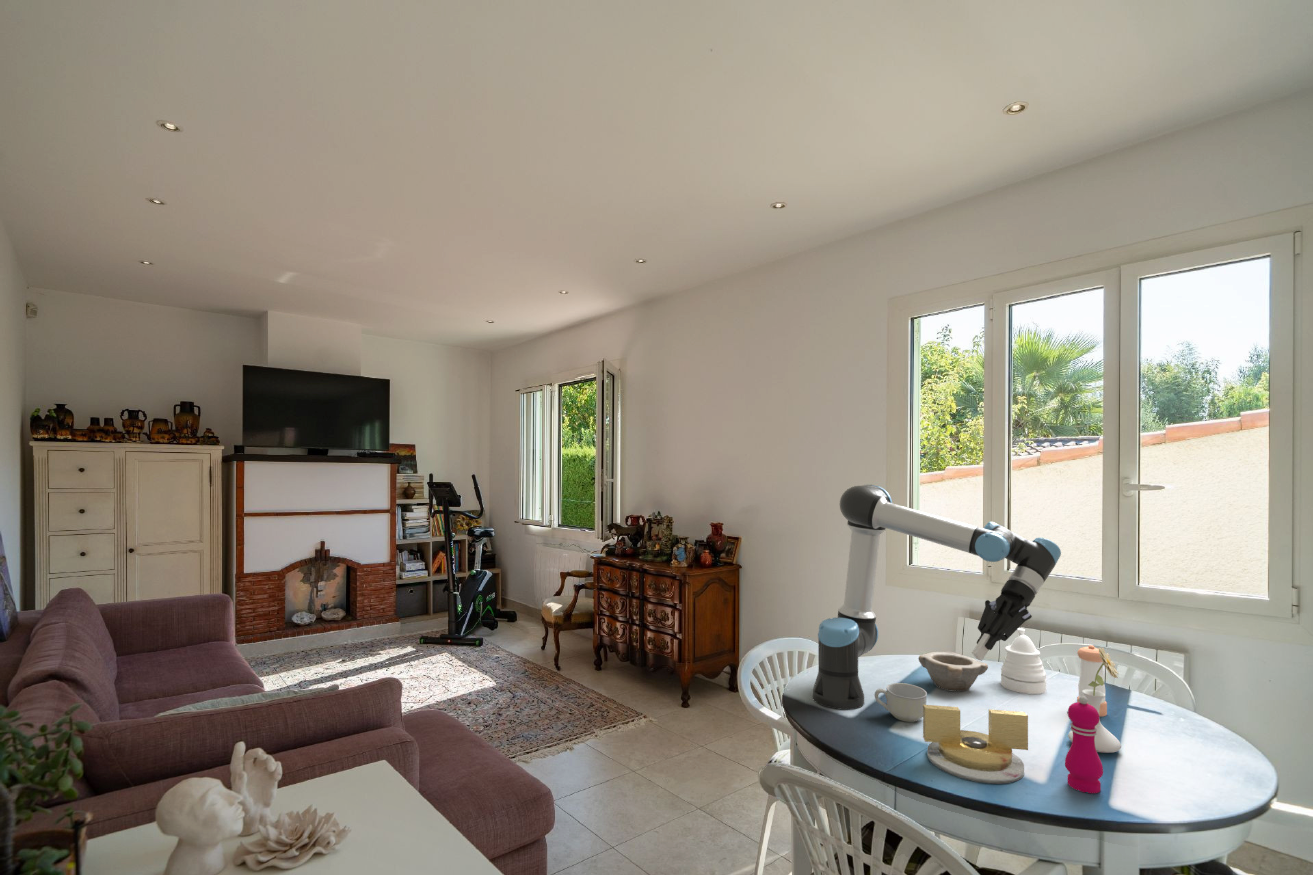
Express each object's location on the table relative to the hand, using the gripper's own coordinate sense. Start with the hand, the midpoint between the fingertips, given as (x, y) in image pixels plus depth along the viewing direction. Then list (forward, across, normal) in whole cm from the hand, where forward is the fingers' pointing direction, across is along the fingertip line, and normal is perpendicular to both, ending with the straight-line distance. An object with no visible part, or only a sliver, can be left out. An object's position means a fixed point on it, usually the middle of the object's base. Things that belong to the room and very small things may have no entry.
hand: (976, 656), depth 174 cm
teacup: (+20, +21, -12) cm, 31 cm away
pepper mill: (+14, -26, -18) cm, 34 cm away
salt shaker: (-19, +3, -51) cm, 54 cm away
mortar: (-4, +34, -36) cm, 50 cm away
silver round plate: (+23, -8, -8) cm, 25 cm away
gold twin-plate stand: (+21, -8, -7) cm, 24 cm away
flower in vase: (-3, -13, -34) cm, 37 cm away
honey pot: (-20, +26, -51) cm, 61 cm away
